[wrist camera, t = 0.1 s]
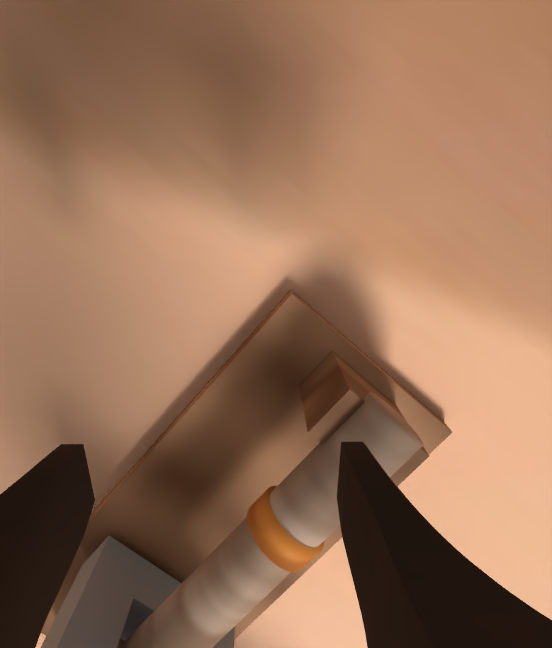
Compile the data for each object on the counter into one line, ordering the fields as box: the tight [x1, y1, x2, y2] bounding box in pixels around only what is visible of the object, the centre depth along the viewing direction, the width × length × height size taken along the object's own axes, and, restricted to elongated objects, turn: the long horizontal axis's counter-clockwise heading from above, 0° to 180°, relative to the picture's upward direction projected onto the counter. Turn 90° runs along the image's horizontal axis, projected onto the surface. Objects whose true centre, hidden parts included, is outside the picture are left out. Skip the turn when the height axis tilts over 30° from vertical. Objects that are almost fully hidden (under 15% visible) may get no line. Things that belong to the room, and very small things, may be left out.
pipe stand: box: [41, 291, 452, 648], centre depth 22 cm, size 24×11×7 cm, turn 139°
